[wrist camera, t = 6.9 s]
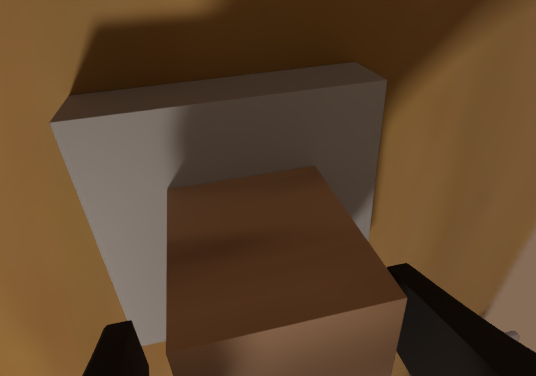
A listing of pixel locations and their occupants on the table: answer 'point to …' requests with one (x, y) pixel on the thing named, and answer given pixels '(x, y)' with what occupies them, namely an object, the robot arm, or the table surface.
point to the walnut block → (275, 282)
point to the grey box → (210, 157)
